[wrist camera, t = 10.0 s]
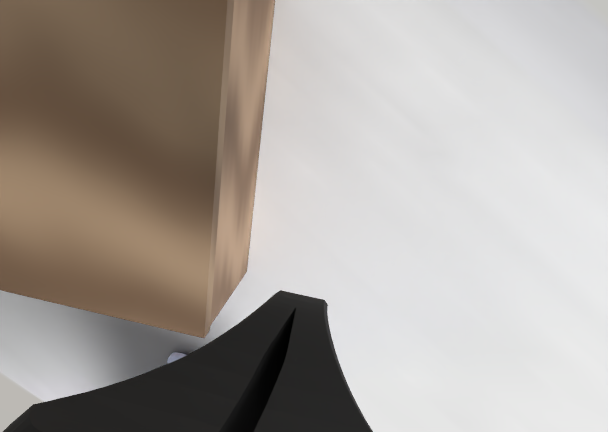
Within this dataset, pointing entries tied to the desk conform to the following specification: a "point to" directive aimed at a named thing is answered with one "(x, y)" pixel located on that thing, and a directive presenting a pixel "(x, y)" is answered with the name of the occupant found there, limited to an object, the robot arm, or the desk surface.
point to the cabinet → (131, 153)
